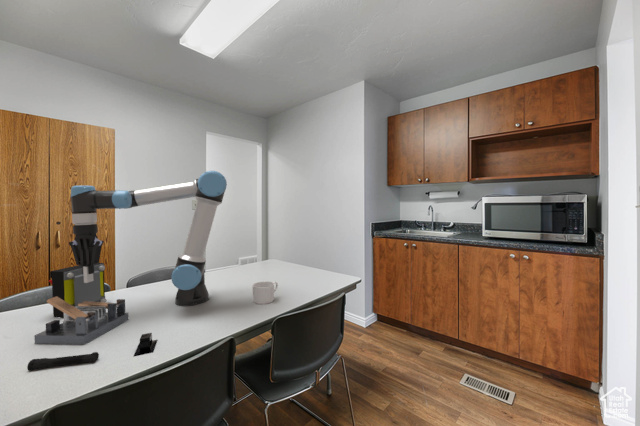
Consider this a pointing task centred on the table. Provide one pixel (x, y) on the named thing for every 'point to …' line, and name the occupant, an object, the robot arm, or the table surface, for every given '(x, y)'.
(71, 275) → the electrical component
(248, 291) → the table surface
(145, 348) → the black flanged mount
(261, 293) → the mug
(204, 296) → the robot arm
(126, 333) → the table surface
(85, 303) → the lever
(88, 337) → the heatsink base
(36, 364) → the long black strip
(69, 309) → the lever
